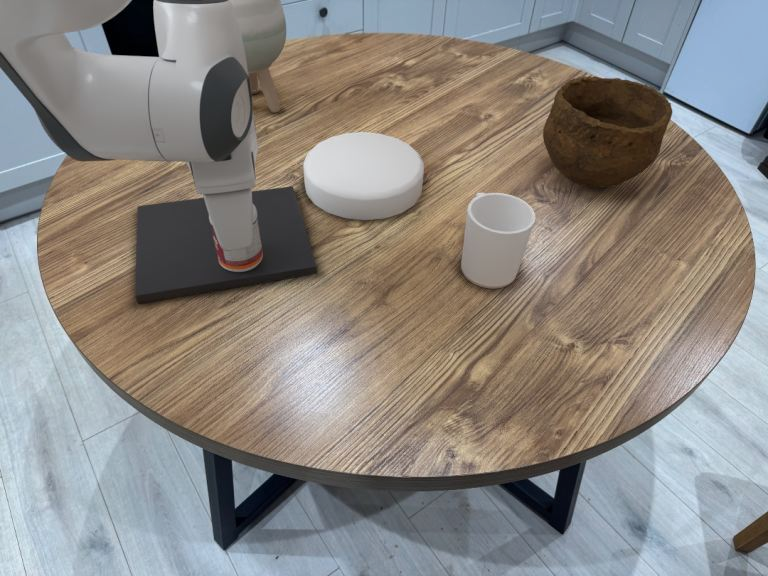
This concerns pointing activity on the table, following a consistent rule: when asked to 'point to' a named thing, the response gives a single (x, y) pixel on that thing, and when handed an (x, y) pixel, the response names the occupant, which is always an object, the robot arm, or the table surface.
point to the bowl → (605, 130)
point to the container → (363, 176)
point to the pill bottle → (252, 252)
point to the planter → (261, 42)
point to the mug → (495, 238)
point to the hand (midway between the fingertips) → (235, 231)
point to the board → (198, 252)
